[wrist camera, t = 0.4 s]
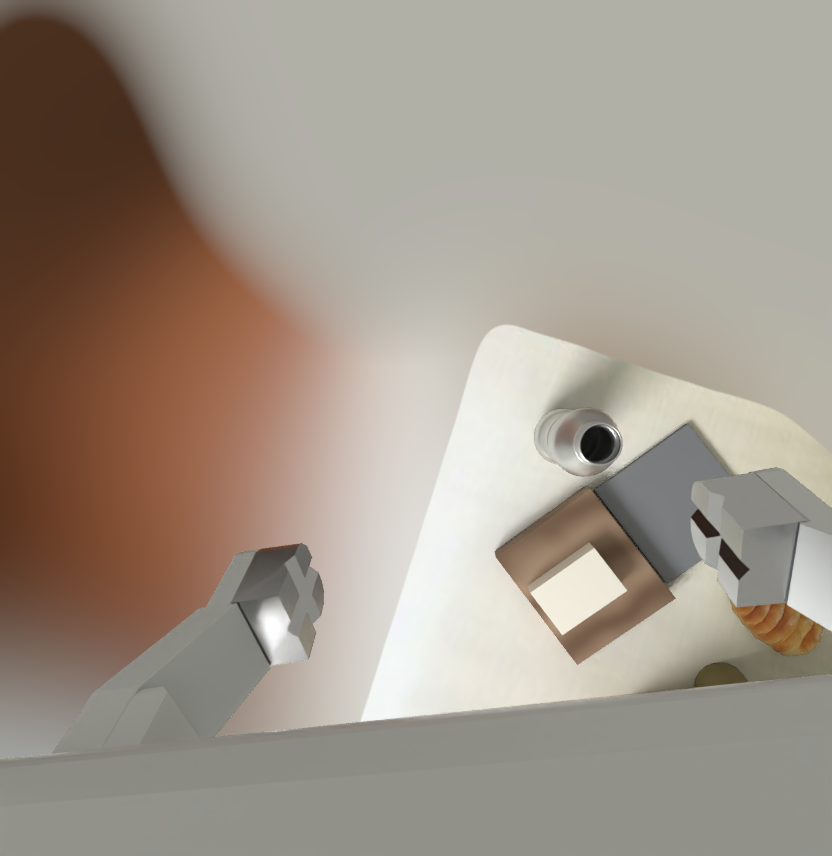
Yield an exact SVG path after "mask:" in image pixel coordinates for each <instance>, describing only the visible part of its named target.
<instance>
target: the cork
mask: <svg viewBox="0 0 832 856" xmlns="http://www.w3.org/2000/svg"><path fill="white" fill-rule="evenodd" d="M746 682H748V681H747V679H746V678H745V677H744V675H743V674H742V673H741V672H740V671H739V670H738V669H737V668H735V667H733V666H731V665H730V664H725V663H713V664H710V665H708V666H706V667H704V668H703V669H702V670H701V671H700V672H699V674H698V675H697V677H696V680H695V685H694V686H695V688H697V687H707V686H716V685H726V684H736V683H746Z"/></svg>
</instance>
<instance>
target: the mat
mask: <svg viewBox="0 0 832 856" xmlns="http://www.w3.org/2000/svg"><path fill="white" fill-rule="evenodd" d="M723 477H729V475H728V473H727V472H726V471H725V470H724V468H723V467H722V466H721V465H720V463H719V462H718V461H717V459H716V458H715V457H714V456H713V454H712V453H711V452H710V451H709V449H708V448H707V447H706V446H705V444H704V443H703V442H702V441H701V439H700V438H699V437H698V436H697V434H696V433H695V432H694V431H693V429H692V428H691V427H690V426H689V424H685V425H684V426H683V427H681V428H680V429H678V430H677V431H676V432H674V433H673V434H671V435H670V436H669V437H667V438H666V439H664V440H663V441H662V442H660V443H659V444H657V445H656V446H655V447H653V448H652V449H650V450H649V451H648V452H646V453H645V454H644V455H642V456H641V457H639V458H638V459H637V460H635V461H634V462H632V463H631V464H630V465H628V466H627V467H625V468H624V469H623V470H621V471H620V472H618V473H617V474H616V475H614V476H613V477H611V478H610V479H609V480H607V481H606V482H605V483H603V484H602V485H600V486H599V487H598V488H596V489H595V490H594V491H595V492H596V493H597V495H598V496H599V497H600V499H601V500H602V501H603V502H604V504H605V505H606V506H607V508H608V509H609V510H610V511H611V513H612V514H613V515H614V517H615V518H616V519H617V520H618V522H619V523H620V524H621V526H622V527H623V528H624V529H625V531H626V532H627V533H628V535H629V536H630V537H631V538H632V540H633V541H634V542H635V544H636V545H637V546H638V547H639V549H640V550H641V551H642V553H643V554H644V555H645V556H646V558H647V559H648V560H649V562H650V563H651V564H652V565H653V567H654V568H655V569H656V571H657V572H658V573H659V574H660V576H661V577H662V578H663V580H664V581H665V582H666V583H669V582H670V581H672V580H673V579H675V578H676V577H678V576H679V575H681V574H682V573H683V572H685V571H686V570H688V569H689V568H691V567H692V566H694V565H695V564H697V563H698V562H700V561H701V560H702V558H701V557H700V555H699V554H698V551H697V549H696V547H695V545H694V542H693V538H692V534H691V516H692V515H693V514H694V513H695V511H696V510H697V509H698V507H697V506H696V505H695V503H694V502H693V501H692V500H691V495H692V487H693V484H694V482H698V481H704V480H710V479H716V478H723Z"/></svg>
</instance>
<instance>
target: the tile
mask: <svg viewBox="0 0 832 856" xmlns="http://www.w3.org/2000/svg"><path fill="white" fill-rule="evenodd" d="M528 588H529V591H530V593H531V595H532V596H533V597H534V599H535V600H536V601H537V603H538V604H539V605H540V607H541V608H542V609H543V610H544V612H545V613H546V614H547V616H548V617H549V618H550V620H551V621H552V622H553V624H554V625H555V626H556V628H557V629H558V630H559V632H560V633H561V634H562V635H564V634H565V633H566V632H568V631H569V630H571V629H572V628H574V627H575V626H577V625H578V624H580V623H581V622H583V621H584V620H585V619H587V618H588V617H590V616H591V615H593V614H594V613H596V612H597V611H599V610H600V609H601V608H603V607H604V606H606V605H607V604H609V603H610V602H612V601H613V600H615V599H616V598H617V597H619V596H620V595H622V594H623V593H625V592H626V591H627V590H626V588H625V587H624V586H623V584H622V583H621V582H620V581H619V579H618V578H617V577H616V575H615V574H614V573H613V571H612V570H611V569H610V568H609V566H608V565H607V564H606V562H605V561H604V560H603V558H602V557H601V556H600V555H599V553H598V552H597V551H596V549H595V548H594V547H593V546H592V545H591V544H590V543H587V544H586V545H585V546H583V547H582V548H580V549H579V550H578V551H576V552H575V553H573V554H572V555H570V556H569V557H568V558H566V559H565V560H563V561H562V562H561V563H559V564H558V565H556V566H555V567H553V568H552V569H551V570H549V571H548V572H546V573H545V574H543V575H542V576H541V577H539V578H538V579H536V580H535V581H534V582H532V583H531V584H529V585H528Z"/></svg>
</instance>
